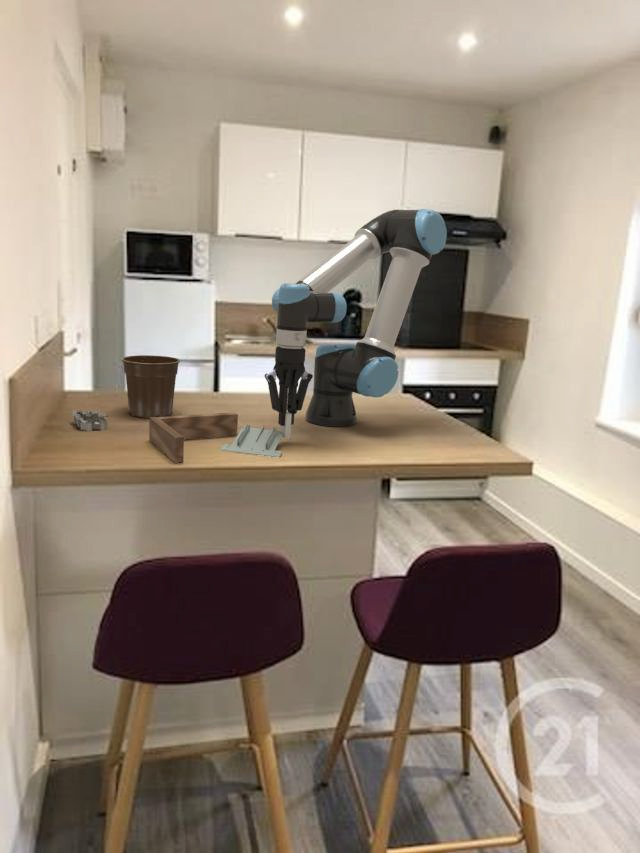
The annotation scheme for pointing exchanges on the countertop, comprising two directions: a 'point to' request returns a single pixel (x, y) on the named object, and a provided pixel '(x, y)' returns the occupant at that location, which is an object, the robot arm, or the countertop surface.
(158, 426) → the wooden corner frame
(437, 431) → the countertop surface
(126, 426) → the countertop surface
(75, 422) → the egg carton
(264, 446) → the metal bracket
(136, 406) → the plant pot
